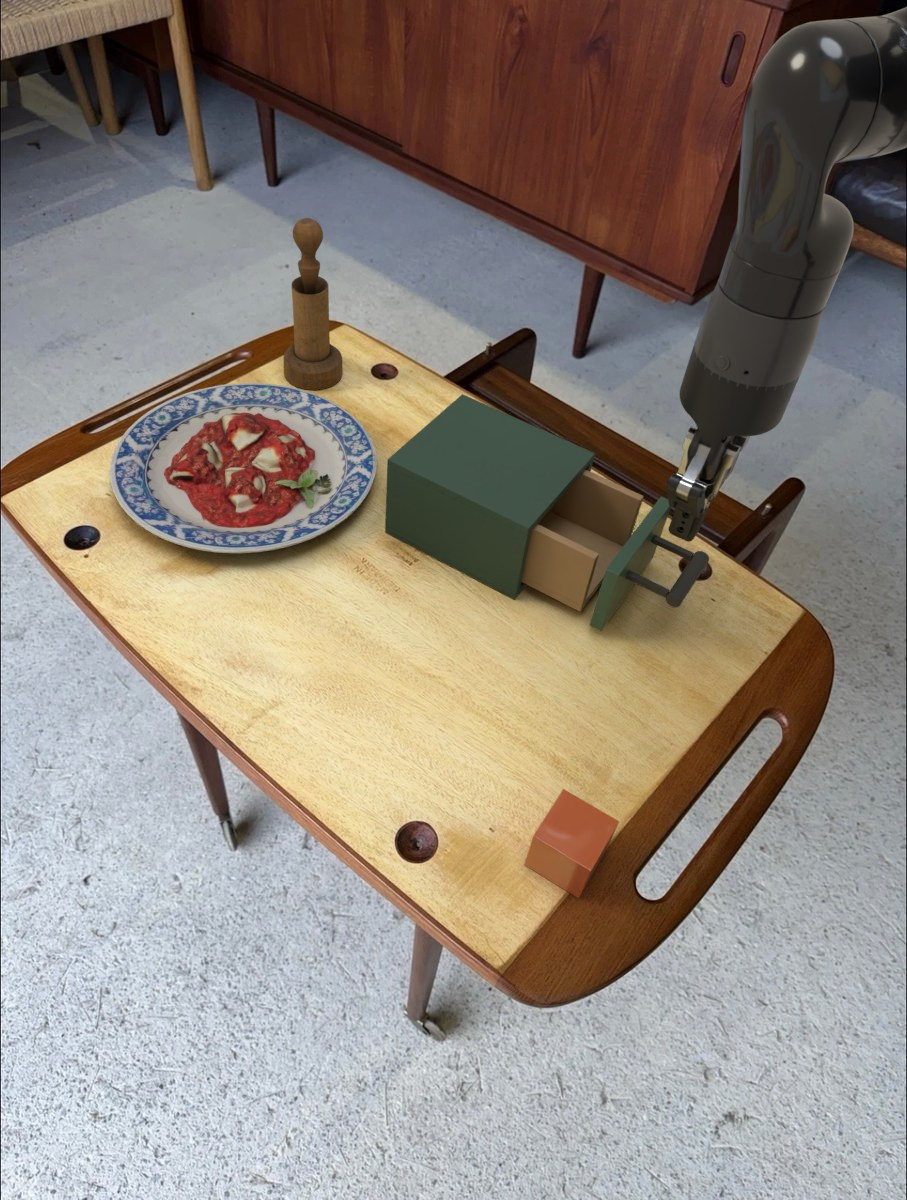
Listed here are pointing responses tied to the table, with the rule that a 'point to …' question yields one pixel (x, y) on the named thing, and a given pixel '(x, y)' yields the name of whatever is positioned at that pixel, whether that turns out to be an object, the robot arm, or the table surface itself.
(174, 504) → the ceramic plate
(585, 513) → the drawer
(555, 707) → the table surface
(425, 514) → the cabinet
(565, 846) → the block
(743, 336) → the robot arm
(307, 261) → the mortar and pestle
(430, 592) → the table surface
